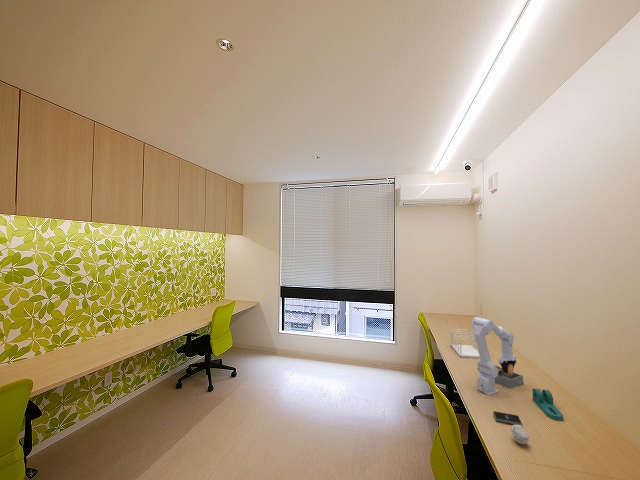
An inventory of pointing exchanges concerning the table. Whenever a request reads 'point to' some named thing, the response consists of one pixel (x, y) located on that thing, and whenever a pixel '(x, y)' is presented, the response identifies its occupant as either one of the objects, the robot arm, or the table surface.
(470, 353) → the file sorter
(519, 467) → the table surface
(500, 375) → the walnut cube
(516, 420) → the external hard drive
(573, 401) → the table surface
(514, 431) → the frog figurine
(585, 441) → the table surface
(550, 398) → the bracket
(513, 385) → the tote
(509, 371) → the terracotta cylinder
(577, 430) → the table surface
